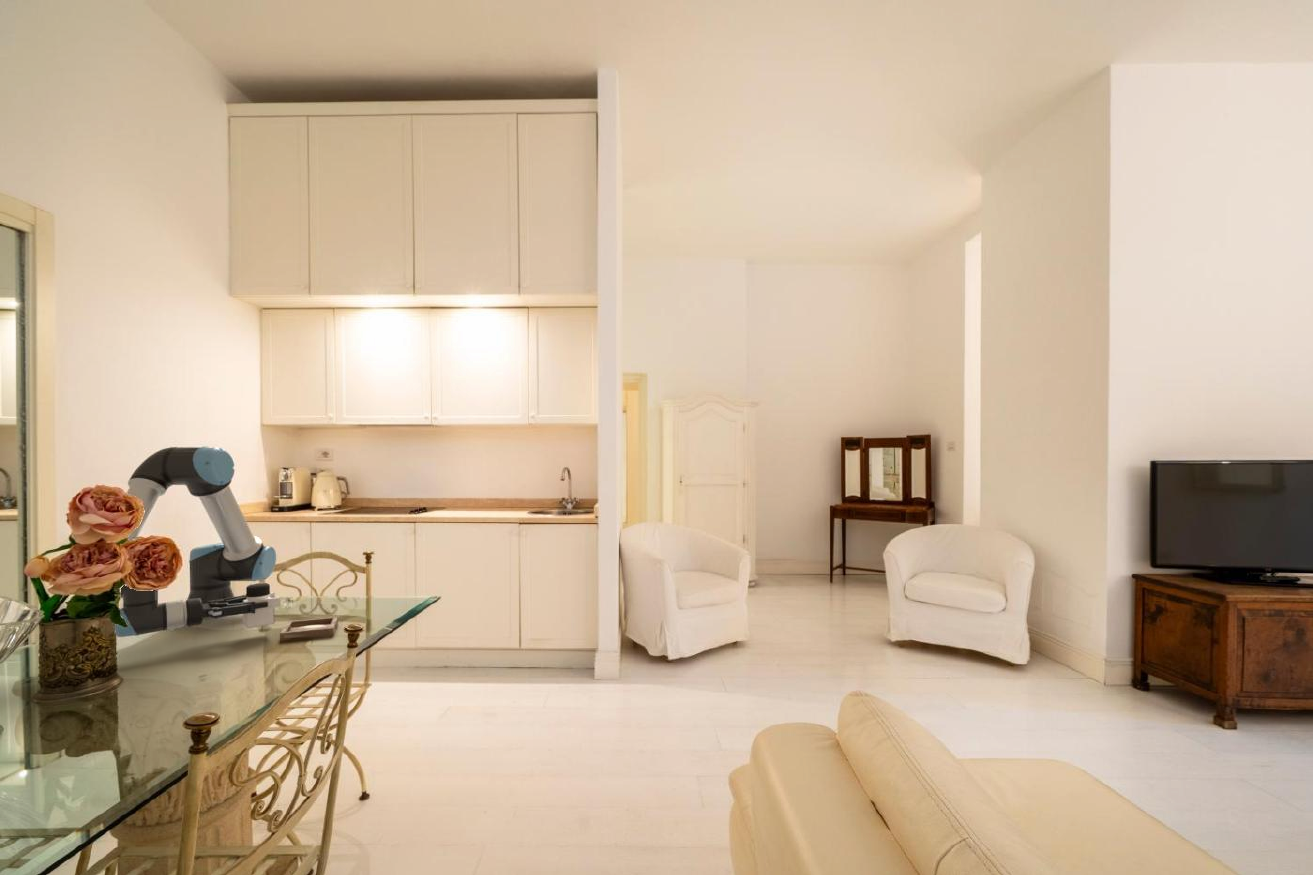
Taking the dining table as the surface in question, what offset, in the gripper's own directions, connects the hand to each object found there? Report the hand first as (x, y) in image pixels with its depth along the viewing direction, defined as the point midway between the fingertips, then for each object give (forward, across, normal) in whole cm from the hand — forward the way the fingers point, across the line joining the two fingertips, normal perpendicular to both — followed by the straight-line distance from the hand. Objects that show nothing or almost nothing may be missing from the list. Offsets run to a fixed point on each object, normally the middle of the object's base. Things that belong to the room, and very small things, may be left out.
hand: (277, 599), depth 200 cm
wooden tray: (+8, +7, -10) cm, 14 cm away
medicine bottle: (-5, 0, -7) cm, 8 cm away
